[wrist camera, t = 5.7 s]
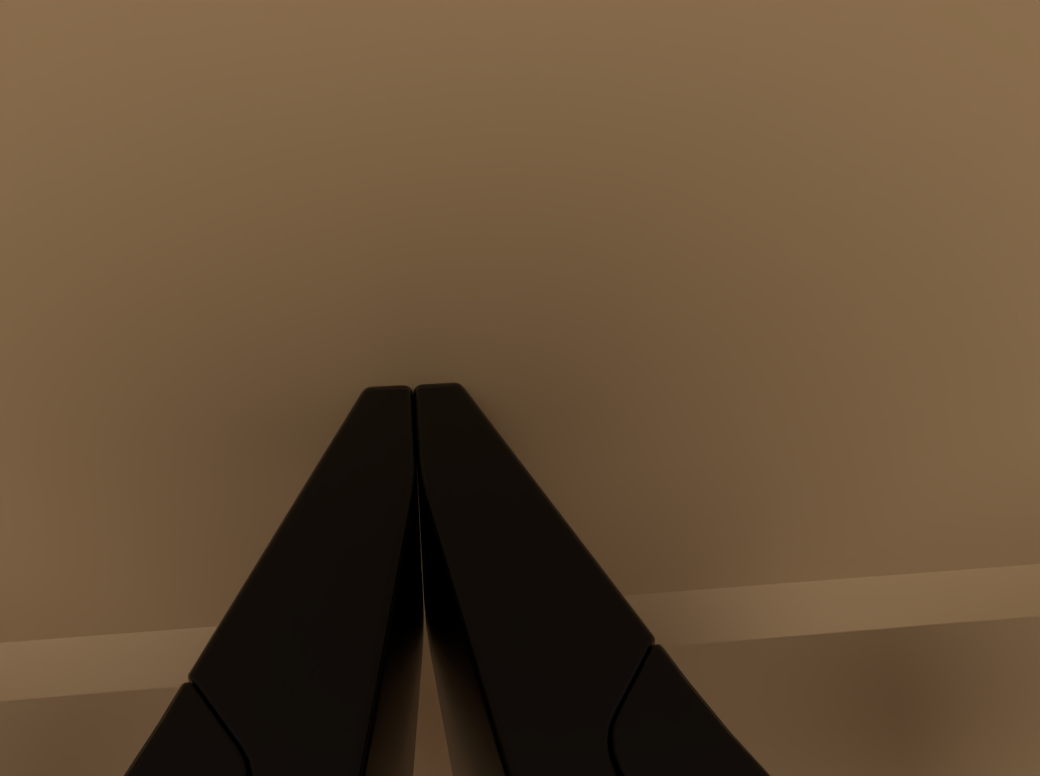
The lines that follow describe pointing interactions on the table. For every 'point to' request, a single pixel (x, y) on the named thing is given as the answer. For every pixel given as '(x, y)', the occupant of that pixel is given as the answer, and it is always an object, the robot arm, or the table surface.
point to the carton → (696, 651)
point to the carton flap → (517, 280)
